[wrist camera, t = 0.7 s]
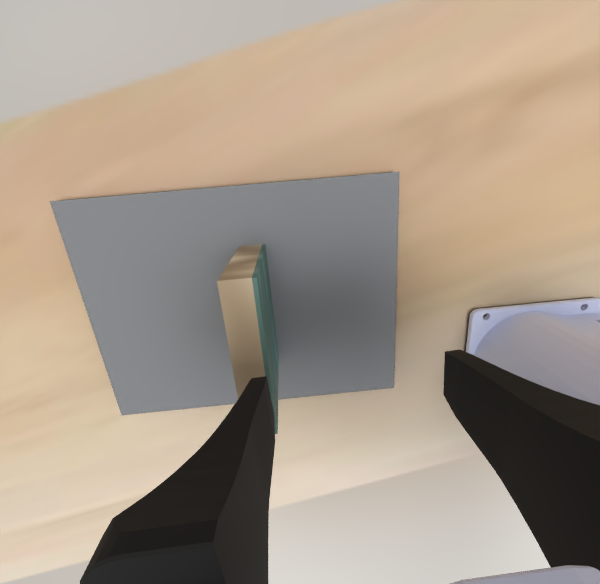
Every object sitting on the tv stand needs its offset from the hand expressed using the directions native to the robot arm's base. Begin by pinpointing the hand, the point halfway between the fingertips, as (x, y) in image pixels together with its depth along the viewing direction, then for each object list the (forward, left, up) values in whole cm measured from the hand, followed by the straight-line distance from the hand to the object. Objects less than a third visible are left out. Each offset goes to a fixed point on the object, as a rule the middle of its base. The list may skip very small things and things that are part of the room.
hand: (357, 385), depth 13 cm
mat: (+5, 0, -9) cm, 11 cm away
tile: (+4, 0, -9) cm, 10 cm away
